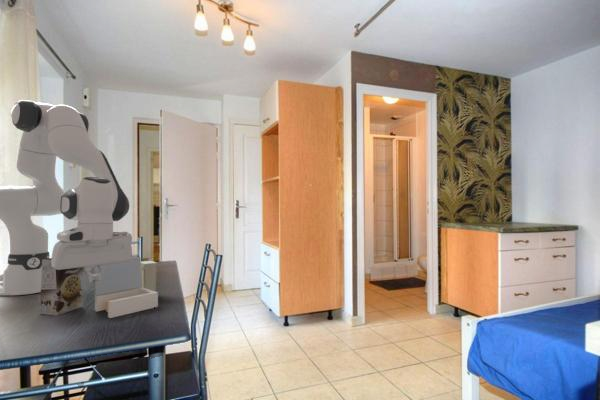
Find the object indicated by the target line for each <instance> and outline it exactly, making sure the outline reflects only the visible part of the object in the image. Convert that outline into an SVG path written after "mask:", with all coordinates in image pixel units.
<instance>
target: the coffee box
mask: <svg viewBox="0 0 600 400" xmlns="http://www.w3.org/2000/svg"><path fill="white" fill-rule="evenodd" d="M51 259H52V257H49V258H48V259H42V275H41V292H40V306H39V314H40V315H48V316H60V315H63V314H65V313H68V312H71V311H75V310H77V309H82V308H83V307H84V304H83V303H84V278H85V277H84V275H85V271H84V270H83V267H79V268H70V269H62V270H57V269H54V268H53V267H52V266H51Z"/></svg>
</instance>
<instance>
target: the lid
mask: <svg viewBox="0 0 600 400" xmlns="http://www.w3.org/2000/svg"><path fill="white" fill-rule="evenodd" d="M141 261H142V260H141V256H132V259H131V261H129V262H122V263H113V264H106V267H105V270H104V271H103V273H102V274H101V280H100V281H93V282H94V297H95V296H97V295H102V294H107V293H113V292H118V291H124V290H129V289H135V288H140V287H142V276H141ZM98 270H99V268H98V265H96V266H93V274H96V273H97V271H98Z"/></svg>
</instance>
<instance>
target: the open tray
mask: <svg viewBox="0 0 600 400" xmlns="http://www.w3.org/2000/svg"><path fill="white" fill-rule="evenodd" d="M106 302H108V312H107V318H108V319H112V318H116V317H120V316H125V315H128V314H133V313H137V312H141V311H145V310H149V309H154V307H155V308H158V307H159V305H158V304H159V292H158V291H156V292H155V291H152V290H149V289H145V288H142V287H140V288H135V289H129V290H124V291H118V292H113V293H107V294H102V295H97V296H95V295H94V311H95V312H96V313H97V312H102V311H106Z"/></svg>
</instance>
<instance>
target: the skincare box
mask: <svg viewBox="0 0 600 400" xmlns="http://www.w3.org/2000/svg"><path fill="white" fill-rule="evenodd" d="M140 261H141V276H142V288H145V289H149V290H152V291H155V292H157V291H156V290H157V267H158V262H156V261H154V260H144V261H143V260H140Z"/></svg>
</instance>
